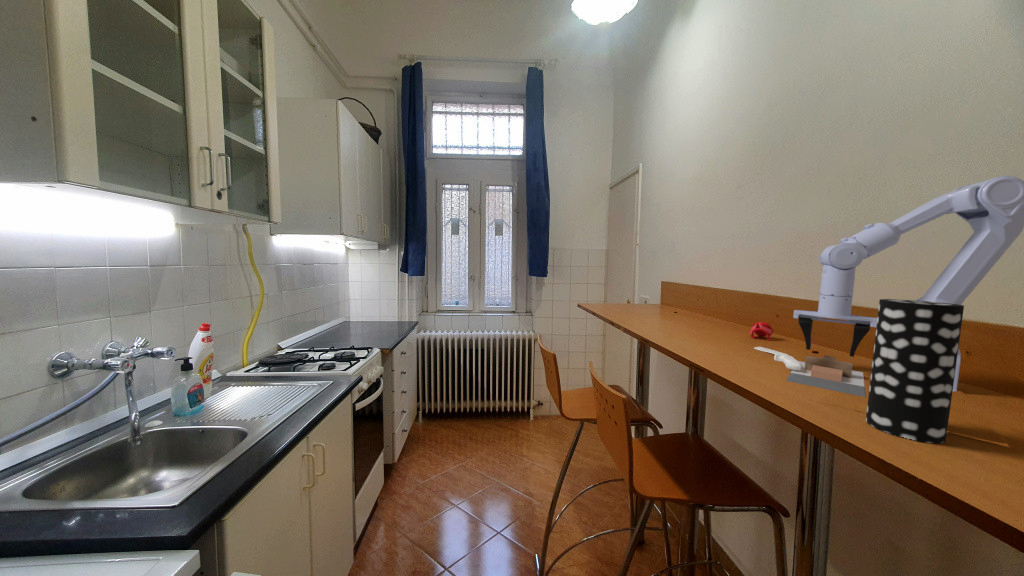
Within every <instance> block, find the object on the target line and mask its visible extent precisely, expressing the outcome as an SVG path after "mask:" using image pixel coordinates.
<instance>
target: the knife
mask: <svg viewBox="0 0 1024 576" xmlns="http://www.w3.org/2000/svg"><path fill="white" fill-rule="evenodd" d="M753 349H755V350H757V351H760V352H765V353H769V354H772V355H774V356H773V359H774V361H776V362H783V363H784V365H785V367H786V369H789V370H791V371H792V370H800V369H801V368H802V366H801V364H800V363H799V362H798V361H799V360H797V359H796V358H794V357H793V356H792V355H789V354H787V353H784V352H780V351H777V350H774V349H770V348H766V347H763V346H755V347H753Z"/></svg>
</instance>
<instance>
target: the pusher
mask: <svg viewBox="0 0 1024 576" xmlns="http://www.w3.org/2000/svg"><path fill="white" fill-rule="evenodd" d="M804 362H805V369H804V370H809V371H811V369H812V367H813V365H816V366H822V367H828V368H834V369H839V370H843V371H842V377H847V378H851V375H852V370H853V363H852V362H847V361H841V360H836V357H835V356H829V355H823V357H816V356H810V355H805V360H804Z"/></svg>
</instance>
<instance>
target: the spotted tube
mask: <svg viewBox="0 0 1024 576" xmlns="http://www.w3.org/2000/svg"><path fill="white" fill-rule="evenodd" d="M915 300H916V299H915ZM915 300H913V299H893V298H882V299H881V298H880V299H879V303H878V310H877V311H878V312H877V317H876V318H877V327H875V329H876V330H875V337H874V338H875V339H874V346H873V355H872V356H873V357H872V361H871V362H872V363H871V372H870V380H869V390H868V397H867V405H866V413H865V414H866V415H865V422H866V423H867V424H868V425H869V426H871V427H873V428H874V429H877V430H878V429H879V431H881V432H883V433H886V432H887V433H886V434H889V433H890V434H889V435H891V434H892V435H891V436H895V435H896V436H895V437H898V436H899V438H901V437H904V438H903V439H905V438H907V439H906V440H909V439H912V440H911V441H914V440H915V442H919V443H920V442H921V443H924V444H926V443H927V444H944V443H946V441H947V435H948V428H949V421H950V413H951V412H950V411H951V406H952V398H953V392H954V391H953V384H954V377H955V369H956V362H957V355H958V349H959V347H960V345H959V344H960V339H961V331H962V325H963V323H962V322H963V317H964V316H963V315H964V309H965V305H964V304H963V305H962V304H961V305H958V304H950V303H940V302H929V301H915ZM943 442H944V443H943Z"/></svg>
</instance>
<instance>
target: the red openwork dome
mask: <svg viewBox="0 0 1024 576" xmlns="http://www.w3.org/2000/svg"><path fill="white" fill-rule="evenodd" d="M748 333H749V336H750V337H751V338H752V339H753V340H754V339H756V336H758V337H759V338H760V337H761V338H765V337H767V341H770V340H771V337H770V336H772V335H773V334H774V328H773V327H772V326H771V324H769V323H768V322H766V321H757V322H755V323H754V324H753V325H752V326H751V328H750V329H749V331H748ZM754 334H755V335H756V336H755V335H754Z"/></svg>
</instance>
